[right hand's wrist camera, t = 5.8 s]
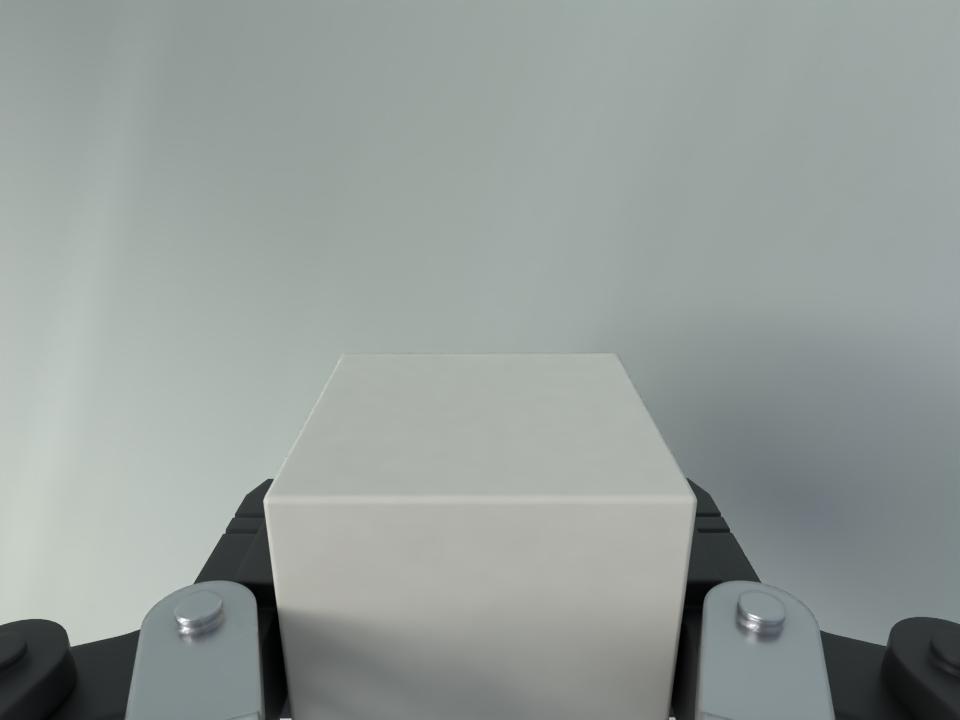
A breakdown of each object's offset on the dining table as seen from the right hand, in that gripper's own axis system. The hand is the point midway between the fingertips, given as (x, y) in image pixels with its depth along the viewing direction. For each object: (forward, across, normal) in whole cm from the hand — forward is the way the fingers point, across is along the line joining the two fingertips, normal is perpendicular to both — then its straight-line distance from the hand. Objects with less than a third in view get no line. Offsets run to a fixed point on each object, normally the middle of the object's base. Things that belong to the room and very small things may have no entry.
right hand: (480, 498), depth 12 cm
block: (+1, 0, 0) cm, 1 cm away
